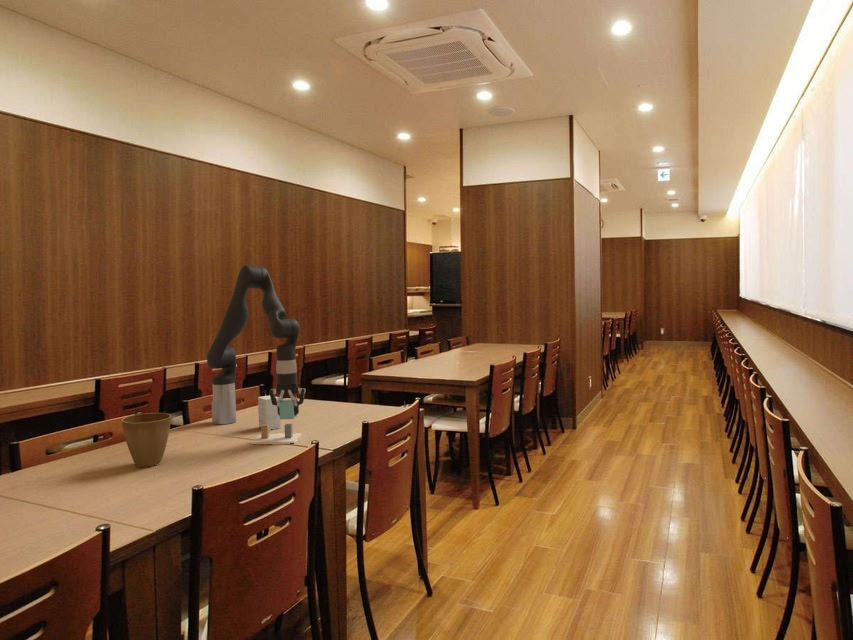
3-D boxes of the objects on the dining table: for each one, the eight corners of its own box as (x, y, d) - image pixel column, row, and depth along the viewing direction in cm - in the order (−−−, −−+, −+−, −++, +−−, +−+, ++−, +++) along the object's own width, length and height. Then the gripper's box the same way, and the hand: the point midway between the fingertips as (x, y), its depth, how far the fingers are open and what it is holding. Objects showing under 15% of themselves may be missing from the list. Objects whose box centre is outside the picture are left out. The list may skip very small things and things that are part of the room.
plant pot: (118, 473, 180) (116, 424, 179) (129, 460, 195) (127, 414, 194) (169, 468, 184) (167, 420, 183) (176, 456, 199) (174, 411, 198)
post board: (251, 444, 211) (250, 429, 211) (261, 436, 223) (260, 421, 223) (294, 444, 211) (293, 428, 211) (301, 435, 223) (301, 420, 223)
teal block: (279, 419, 214) (279, 402, 214) (283, 416, 219) (282, 399, 219) (293, 419, 214) (292, 401, 214) (296, 416, 219) (296, 399, 219)
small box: (280, 428, 236) (279, 397, 235) (266, 431, 232) (265, 399, 231) (272, 425, 242) (271, 394, 242) (258, 427, 238) (257, 396, 238)
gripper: (307, 369, 219) (309, 413, 220) (270, 370, 220) (272, 413, 220) (303, 372, 212) (304, 417, 213) (265, 373, 212) (266, 418, 213)
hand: (288, 415), depth 217 cm, fingers closed on teal block, 5 cm apart
